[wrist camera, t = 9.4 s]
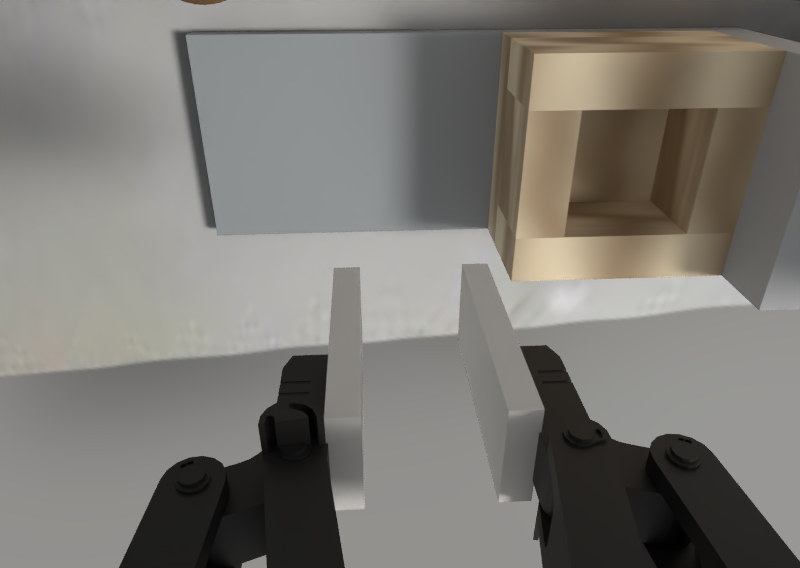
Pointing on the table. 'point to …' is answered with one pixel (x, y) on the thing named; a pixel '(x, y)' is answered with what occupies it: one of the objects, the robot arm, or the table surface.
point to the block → (625, 150)
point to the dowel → (203, 1)
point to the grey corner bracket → (426, 140)
